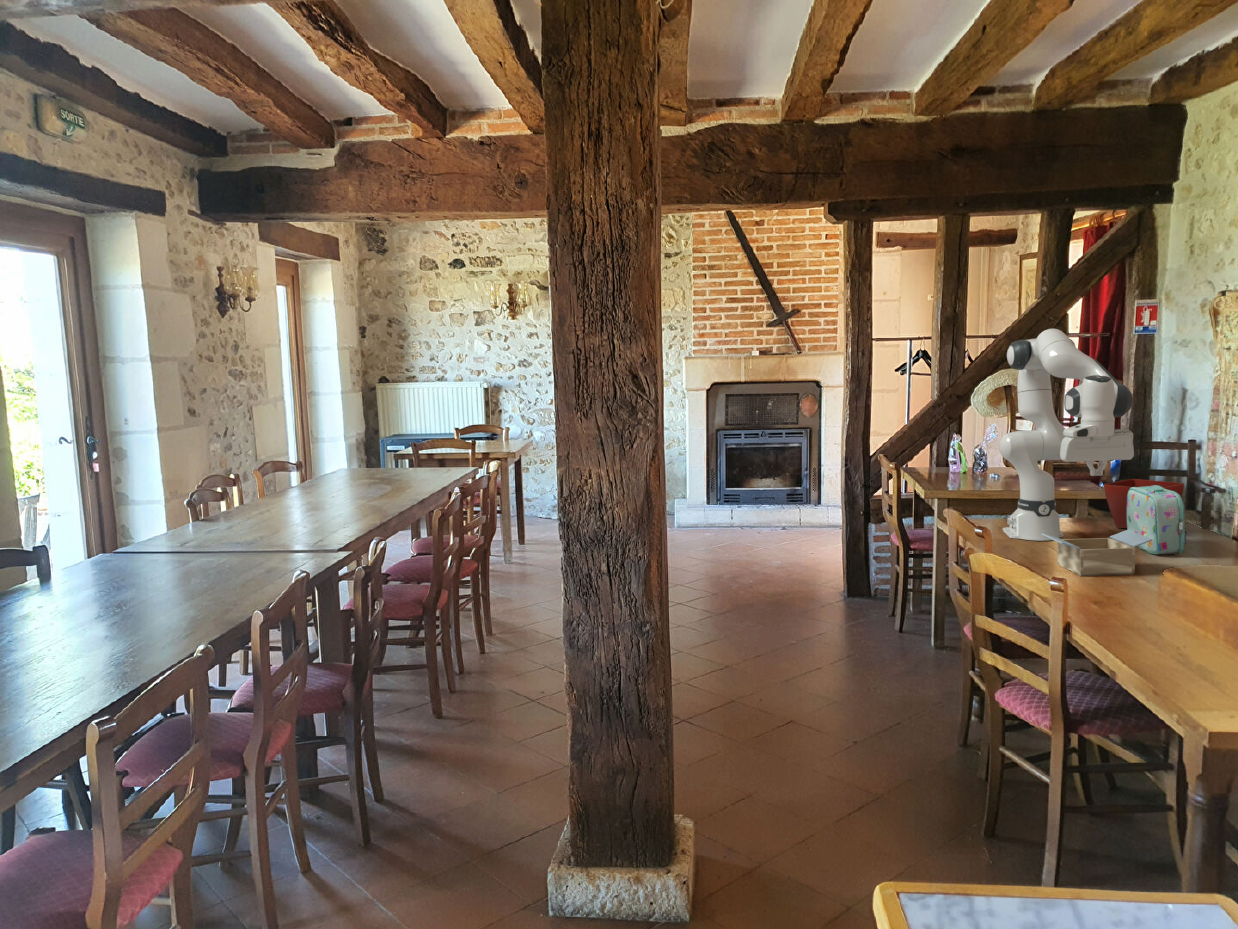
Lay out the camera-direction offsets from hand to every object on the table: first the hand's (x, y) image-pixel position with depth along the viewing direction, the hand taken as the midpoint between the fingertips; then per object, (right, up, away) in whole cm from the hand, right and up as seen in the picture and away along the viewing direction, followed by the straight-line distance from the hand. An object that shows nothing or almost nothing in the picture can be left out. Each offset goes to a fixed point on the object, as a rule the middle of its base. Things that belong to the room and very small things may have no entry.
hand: (1096, 475), depth 251 cm
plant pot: (+50, -21, +56) cm, 78 cm away
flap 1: (-6, -21, +3) cm, 22 cm away
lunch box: (+34, -25, +25) cm, 49 cm away
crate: (+1, -29, +3) cm, 29 cm away
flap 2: (+8, -20, +2) cm, 22 cm away
